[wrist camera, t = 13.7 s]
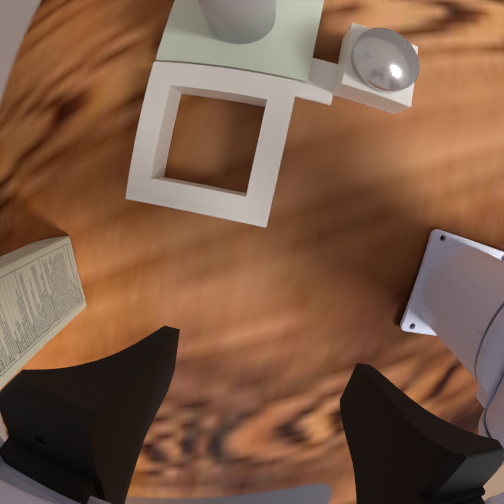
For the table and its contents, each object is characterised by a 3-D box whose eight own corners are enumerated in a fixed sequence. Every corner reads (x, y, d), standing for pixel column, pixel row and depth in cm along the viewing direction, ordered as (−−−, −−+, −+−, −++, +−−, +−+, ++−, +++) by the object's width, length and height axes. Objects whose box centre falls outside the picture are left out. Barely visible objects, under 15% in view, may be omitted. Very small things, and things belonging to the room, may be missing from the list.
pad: (324, -7, 16) (326, -13, 16) (305, 85, 18) (307, 81, 18) (189, -24, 16) (186, -30, 15) (160, 63, 18) (155, 59, 18)
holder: (400, 59, 17) (417, 46, 15) (363, 243, 21) (377, 255, 18) (183, 14, 17) (172, -5, 15) (140, 195, 21) (122, 199, 18)
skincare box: (34, 240, 22) (-75, 287, 10) (72, 234, 22) (-45, 285, 10) (52, 310, 24) (-38, 382, 12) (91, 309, 23) (-2, 394, 12)
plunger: (400, 59, 17) (421, 42, 14) (393, 109, 18) (415, 99, 15) (346, 40, 17) (359, 19, 14) (336, 91, 18) (350, 76, 15)
